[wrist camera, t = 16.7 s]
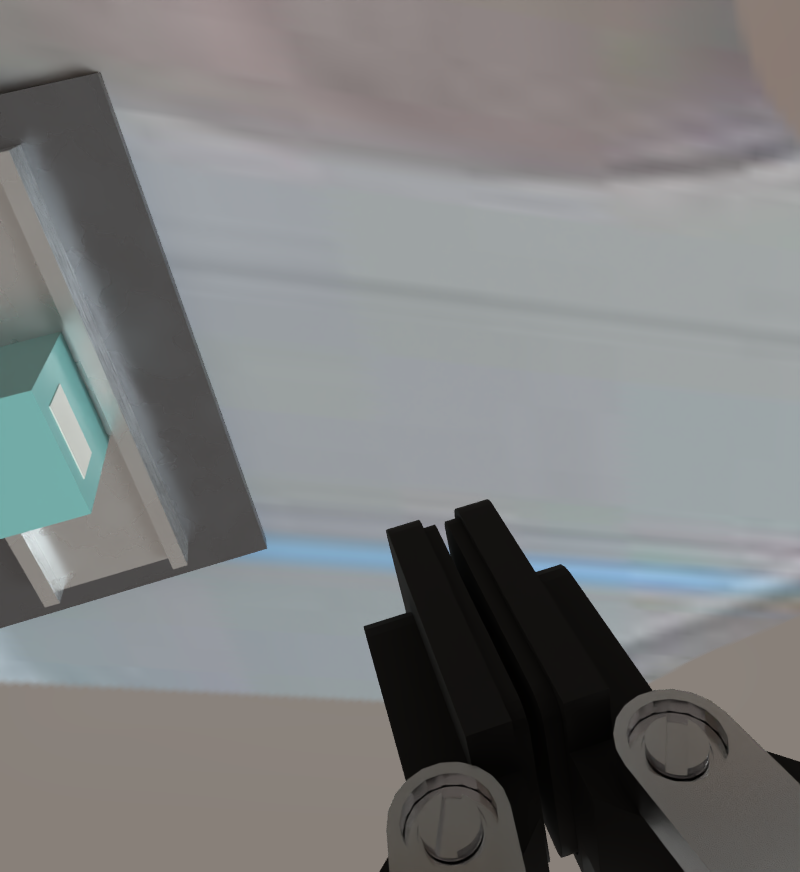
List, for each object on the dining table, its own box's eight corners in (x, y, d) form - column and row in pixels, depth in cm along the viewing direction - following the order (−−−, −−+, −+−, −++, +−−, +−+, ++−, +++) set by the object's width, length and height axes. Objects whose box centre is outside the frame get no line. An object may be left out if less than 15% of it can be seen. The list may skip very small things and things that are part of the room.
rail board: (-288, 158, 31) (-337, 169, 28) (100, 72, 32) (90, 74, 30) (-2, 618, 43) (-15, 656, 41) (265, 538, 45) (269, 570, 42)
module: (-49, 359, 34) (-103, 424, 28) (62, 331, 35) (32, 390, 29) (8, 466, 37) (-30, 547, 31) (110, 439, 38) (92, 513, 32)
